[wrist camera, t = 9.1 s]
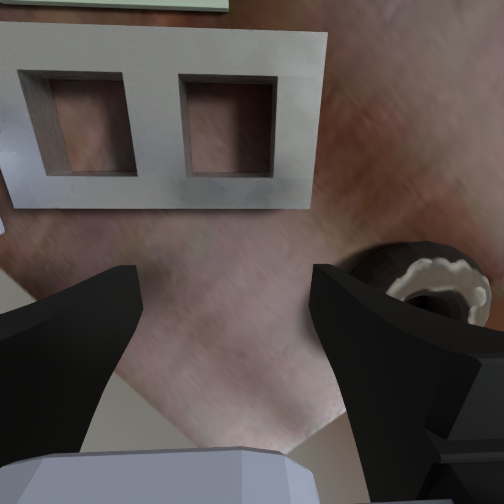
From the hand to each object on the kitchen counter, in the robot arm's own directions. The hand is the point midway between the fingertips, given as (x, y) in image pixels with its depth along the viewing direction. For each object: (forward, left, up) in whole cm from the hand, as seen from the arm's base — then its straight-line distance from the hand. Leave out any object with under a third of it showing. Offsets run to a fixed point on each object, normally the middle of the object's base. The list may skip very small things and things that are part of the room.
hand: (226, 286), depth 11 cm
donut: (+14, -7, -10) cm, 18 cm away
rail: (-4, +6, -9) cm, 12 cm away
